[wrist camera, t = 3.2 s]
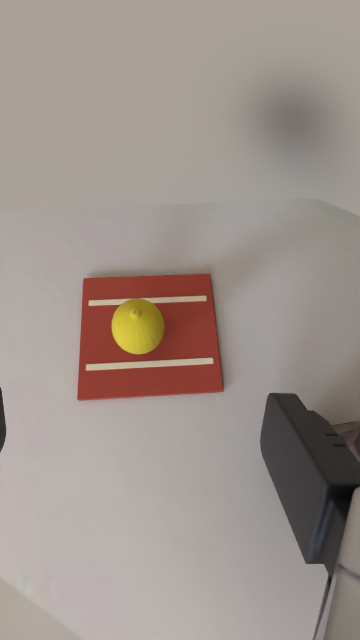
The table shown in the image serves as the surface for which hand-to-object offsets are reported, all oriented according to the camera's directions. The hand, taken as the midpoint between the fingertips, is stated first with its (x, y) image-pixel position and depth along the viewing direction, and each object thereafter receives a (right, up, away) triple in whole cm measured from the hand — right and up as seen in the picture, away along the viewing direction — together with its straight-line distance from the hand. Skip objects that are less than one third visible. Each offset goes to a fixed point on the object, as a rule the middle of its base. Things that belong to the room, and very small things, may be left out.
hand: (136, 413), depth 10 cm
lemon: (-3, 0, +29) cm, 29 cm away
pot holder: (-2, +1, +30) cm, 30 cm away
